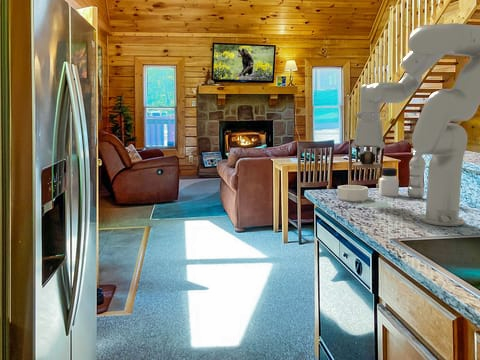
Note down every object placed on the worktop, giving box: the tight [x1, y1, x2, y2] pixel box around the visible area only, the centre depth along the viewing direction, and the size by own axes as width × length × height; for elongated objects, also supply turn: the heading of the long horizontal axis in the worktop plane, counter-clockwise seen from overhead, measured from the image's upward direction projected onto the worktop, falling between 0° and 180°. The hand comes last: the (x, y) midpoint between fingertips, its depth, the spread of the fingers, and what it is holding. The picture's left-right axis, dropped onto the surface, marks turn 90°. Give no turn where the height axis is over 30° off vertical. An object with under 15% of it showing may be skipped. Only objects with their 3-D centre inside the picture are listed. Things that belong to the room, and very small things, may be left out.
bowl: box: [337, 184, 369, 202], centre depth 168 cm, size 12×12×5 cm
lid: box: [352, 150, 383, 169], centre depth 158 cm, size 11×11×6 cm
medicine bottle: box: [378, 167, 400, 197], centre depth 176 cm, size 7×7×12 cm
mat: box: [360, 200, 391, 208], centre depth 156 cm, size 10×10×1 cm
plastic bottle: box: [406, 149, 427, 199], centre depth 167 cm, size 6×7×20 cm
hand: (367, 163), depth 159 cm, fingers closed on lid, 3 cm apart
